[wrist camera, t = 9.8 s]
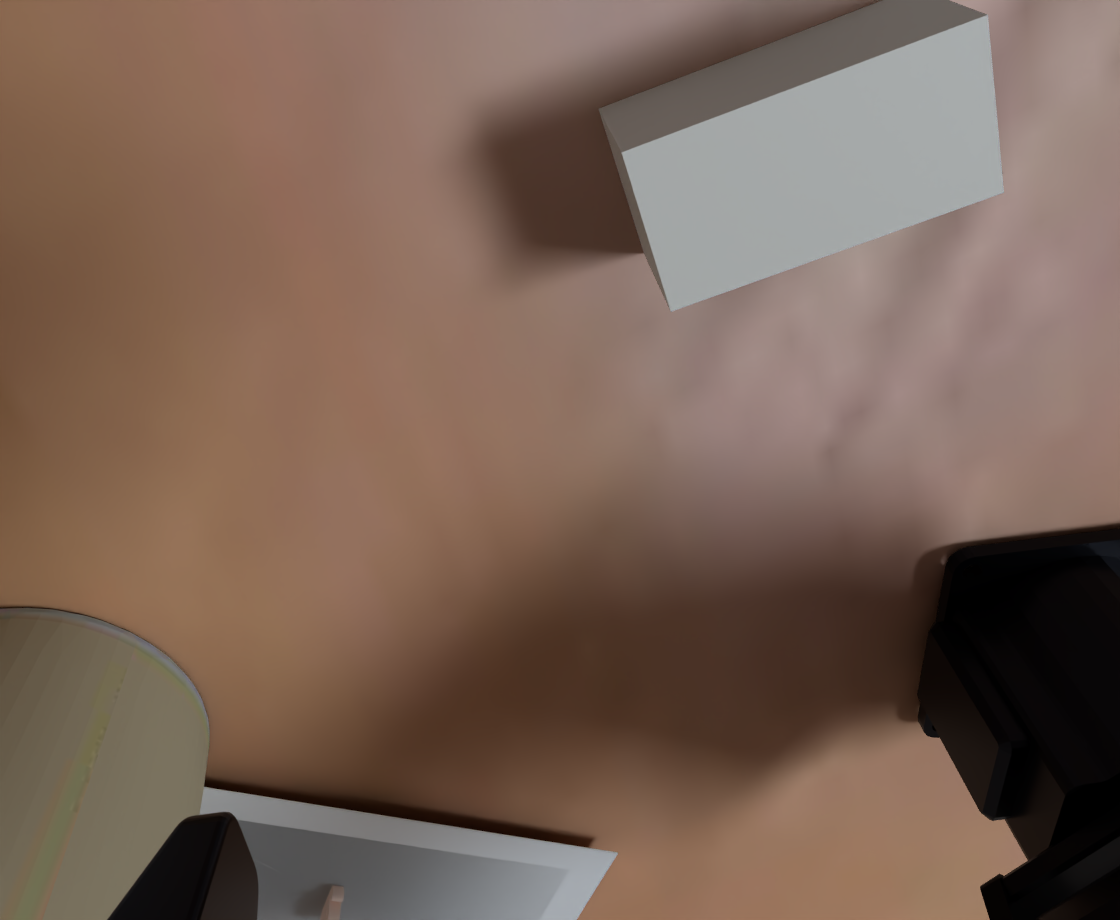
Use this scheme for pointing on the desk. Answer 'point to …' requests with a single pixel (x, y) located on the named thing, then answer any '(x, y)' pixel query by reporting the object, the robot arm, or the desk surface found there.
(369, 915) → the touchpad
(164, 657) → the coffee cup
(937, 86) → the light grey brick
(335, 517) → the desk surface
